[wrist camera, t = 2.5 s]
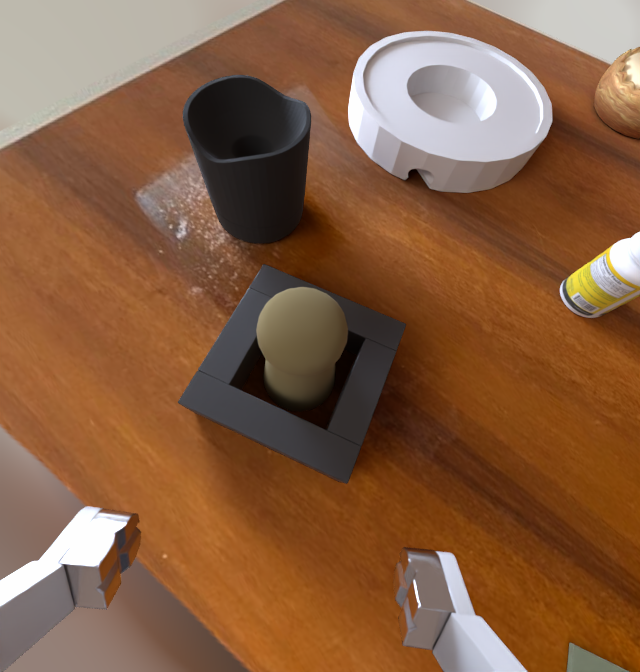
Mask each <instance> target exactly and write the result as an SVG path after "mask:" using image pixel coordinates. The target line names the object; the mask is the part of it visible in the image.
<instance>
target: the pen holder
mask: <svg viewBox="0 0 640 672" xmlns="http://www.w3.org/2000/svg"><path fill="white" fill-rule="evenodd" d="M183 121H184V126H185V129H186V131H187V134H188V137H189V140H190V143H191V146H192V148H193V151H194V154H195V157H196V160H197V162H198V165H199V168H200V171H201V174H202V177H203V179H204V182H205V185H206V188H207V191H208V193H209V196H210V199H211V202H212V204H213V207H214V209H215V212H216V215H217V217H218V220H219V222H220V223H221V225H222V226H223V228H224V229H225V230H226V231H227V232H228V233H229V234H231V235H232V236H234V237H236V238H238V239H240V240H243V241H246V242H250V243H270V242H274V241H277V240H280V239H282V238H284V237H285V236H287V235H289V234H290V233H291V232H292V231H293V230H294V229H295V228H296V227H297V225H298V224H299V222H300V220H301V217H302V212H303V204H304V195H305V185H306V173H307V162H308V150H309V139H310V128H311V113H310V110H309V107H308V106H307V105H306V103H305V102H303V101H300V100H297V99H293V98H290V97H287V96H285V95H283V94H282V93H280V92H278V91H277V90H275V89H274V88H273V87H271V86H269V85H268V84H266V83H265V82H263V81H261V80H259V79H257V78H254V77H251V76H245V75H232V76H226V77H222V78H218V79H216V80H213V81H210V82H208V83H206V84H204V85H203V86H201V87H200V88H198V89H197V90H196V91H195V92H194V93H193V94H192V95H191V96H190V97H189V98H188V100H187V101H186V104H185V106H184V110H183Z"/></svg>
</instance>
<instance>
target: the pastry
mask: <svg viewBox="0 0 640 672" xmlns="http://www.w3.org/2000/svg"><path fill="white" fill-rule="evenodd" d="M594 107H595V110H596V112H597V114H598V116H599V117H600V118H601V119H602V120H603V121H604V122H605V123H606V124H607V125H608V126H610V127H611V128H612V129H614V130H615V131H617V132H620V133H622V134H624V135H626V136H630V137H633V138H639V139H640V47H638V48H636V49H633V50H631V49H630V50H628V51H627V52H625V53H623V54H622V55H621V56H619V57H618V58H617V59H616V60H615V61H614V62H613V64H612V65H611V66H610V67H609V68H608V70H607V71H606V72H605V74H604V75H603V76H602V78H601V80H600V82H599V84H598V87H597V89H596V93H595V99H594Z"/></svg>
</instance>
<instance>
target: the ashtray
mask: <svg viewBox="0 0 640 672" xmlns="http://www.w3.org/2000/svg"><path fill="white" fill-rule="evenodd" d="M348 114H349V126H350V128H351V130H352V133H353V135H354V137H355V139H356V142H357V143H358V144H359V146H360V147H361V148H362V149H363V150H364V151H365V153H366V154H367V155H368V156H369V157H370V158H371V159H372V160H373V161H374V162H376V163H377V164H378V165H380V166H381V167H382V168H384V169H385V170H387V171H388V172H389V173H391V174H393V175H395V176H397V177H399V178H401V179H403V180H406V179H407V178H408V172H409V171H410V170H411V169H416V170H417V171H418V172H419V174H420V175H421V177H422V178H423V180H424V181H425V182H426V184H427V185H428V187H429V188H430V189H433V190H437V191H441V192H460V193H470V192H476V191H482V190H488V189H492V188H494V187H496V186H498V185H500V184H503V183H505V182H507V181H509V180H510V179H511V178H512V177H513V176H515V175H516V174H517V173H518V172H519V171H520V170H521V169H522V168H523V166H524V165H525V164H526V163H527V161H528V160H529V159H530V157H531V156H532V155H533V153H534V152H535V151H536V149H537V148H538V147H539V145H540V144H541V143H542V141H543V140H544V139H545V137H546V136H547V133H548V131H549V128H550V126H551V124H552V104H551V102H550V100H549V97H548V95H547V93H546V90H545V88H544V87H543V85H542V84H541V83H540V82H539V81H538V79H537V78H536V77H535V76H534V74H533V73H532V72H531V71H530V70H528V69H527V68H526V67H525V66H524V65H522V64H521V63H520V62H519V61H517V60H516V59H515V58H513V57H512V56H510V55H508V54H506V53H505V52H503V51H501V50H499V49H498V48H496V47H494V46H491V45H489V44H486V43H483V42H481V41H478V40H476V39H473V38H469V37H465V36H461V35H457V34H452V33H445V32H434V31H417V32H405V33H401V34H397V35H393V36H390V37H386V38H384V39H382V40H380V41H379V42H377V43H375V44H373V45H371V46H370V47H369V48H368V49H367V50H366V51H365V52H364V53H363V54H362V55H361V56H360V58H359V59H358V62H357V65H356V68H355V71H354V74H353V80H352V87H351V93H350V100H349V107H348Z"/></svg>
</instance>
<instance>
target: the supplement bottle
mask: <svg viewBox="0 0 640 672" xmlns="http://www.w3.org/2000/svg"><path fill="white" fill-rule="evenodd" d="M560 295H561V298H562V300H563V302H564V303H565V305H566V306H567V307H568V308H569V309H570V310H571V311H572V312H574V313H575V314H577V315H580V316H582V317H587V318H595V317H599V316H602V315H604V314H606V313H608V312H610V311H612V310H614V309H616V308H617V307H619V306H621V305H623V304H625V303H627V302H629V301H631V300H633V299H635V298H637V297H639V296H640V232H638V233H636V234H635V235H633V237H631V238H627V239H623V240H621V241H619V242H617V243H615V244H614V245H612V246H611V247H610V248H608V249H607V250H605V251H604V252H603V253H601V254H600V255H598V256H597V257H596V258H594V259H593V260H591V261H590V262H589V263H587V264H586V265H584V266H583V267H582V268H580V269H579V270H577V271H576V272H575V273H573V274H572V275H570V276H569V277H568V278H566V279H565V280H564V281H563V282H562V284H561V286H560Z"/></svg>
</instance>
